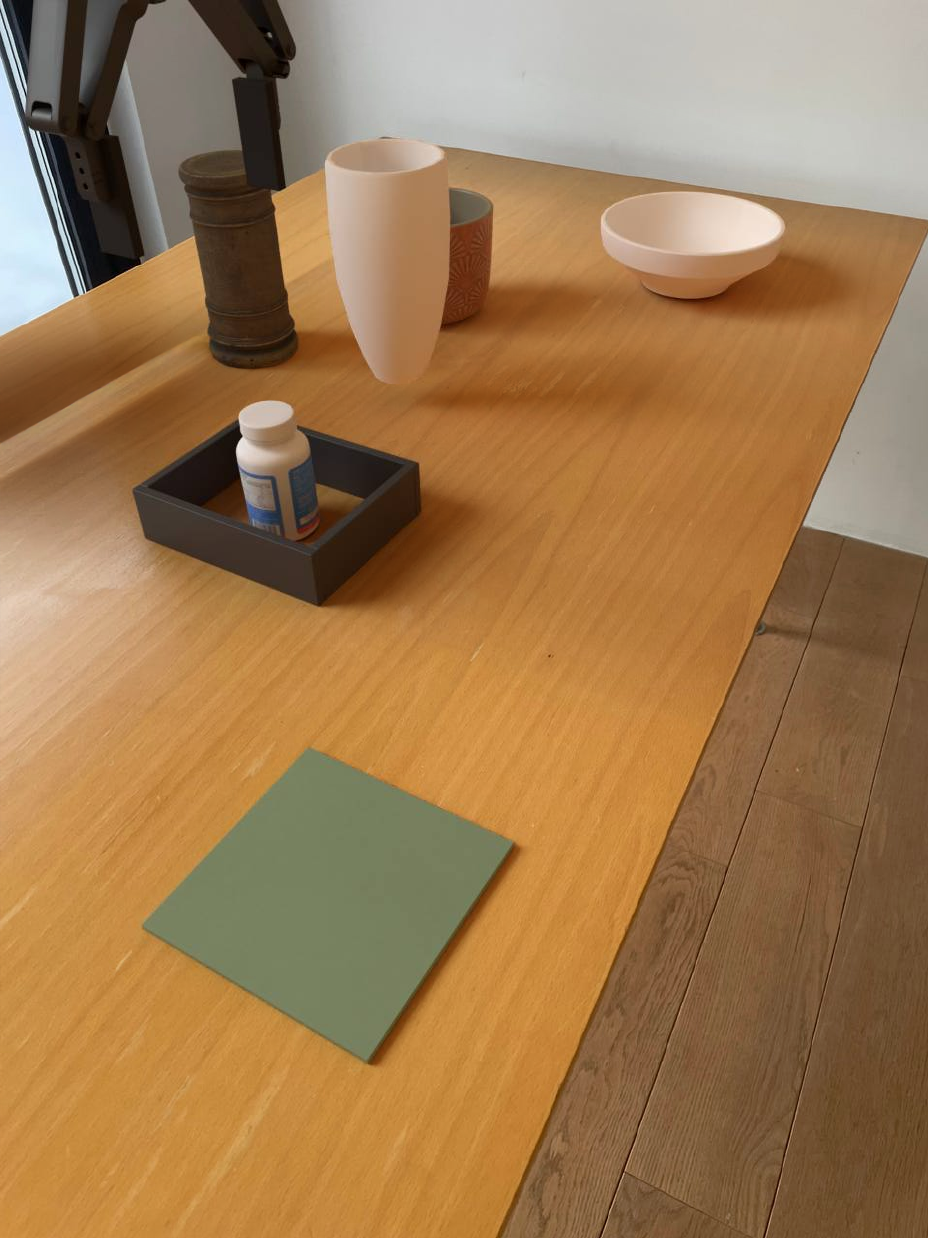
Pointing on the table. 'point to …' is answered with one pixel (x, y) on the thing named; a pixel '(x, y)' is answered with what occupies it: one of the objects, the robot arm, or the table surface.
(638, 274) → the bowl
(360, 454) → the frame
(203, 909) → the mat
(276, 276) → the container
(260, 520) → the pill bottle
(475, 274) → the planter
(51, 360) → the table surface
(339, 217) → the cup
